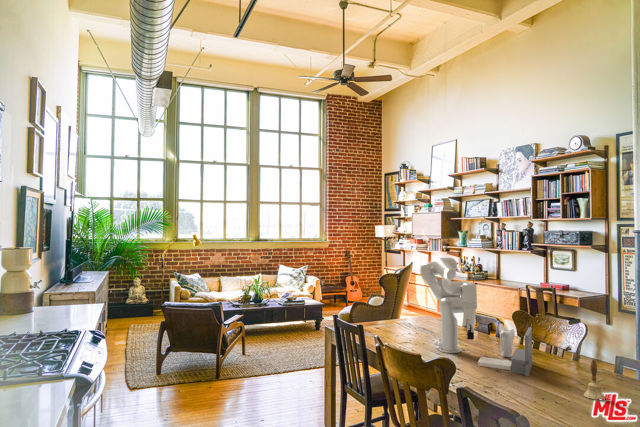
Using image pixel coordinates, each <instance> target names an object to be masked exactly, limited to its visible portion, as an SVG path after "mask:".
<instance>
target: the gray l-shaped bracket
mask: <svg viewBox="0 0 640 427" xmlns="http://www.w3.org/2000/svg"><path fill="white" fill-rule="evenodd" d="M510 361H511V366H512V368H511V373H512V374H518V375H524V376H525V377H527V378H528V377H530V373H531V370H532V368H533V328H532V327H531V326H528V328H527V330H526V332H525V334H524V349H522V348H515V349H514V351H513V352H512V355H511V357H510Z"/></svg>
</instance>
